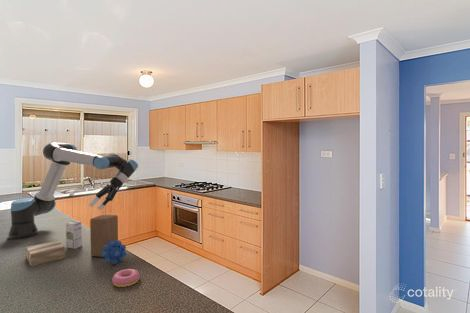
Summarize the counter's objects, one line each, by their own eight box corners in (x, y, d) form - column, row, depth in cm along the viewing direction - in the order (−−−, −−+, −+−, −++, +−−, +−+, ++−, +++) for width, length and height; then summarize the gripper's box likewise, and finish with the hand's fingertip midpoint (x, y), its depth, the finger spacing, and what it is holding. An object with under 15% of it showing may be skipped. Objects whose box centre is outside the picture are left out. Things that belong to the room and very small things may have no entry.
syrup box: (82, 245, 155) (82, 220, 155) (73, 249, 150) (72, 223, 149) (75, 244, 157) (74, 220, 157) (66, 248, 152) (65, 222, 151)
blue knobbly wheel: (105, 270, 123) (104, 245, 123) (100, 266, 128) (99, 241, 128) (130, 263, 132) (129, 239, 131) (124, 259, 136) (124, 235, 136)
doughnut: (111, 291, 106) (111, 281, 106) (112, 278, 116) (112, 269, 116) (140, 285, 110) (140, 275, 110) (138, 274, 121) (138, 265, 120)
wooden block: (106, 258, 138) (106, 219, 137) (90, 256, 140) (89, 218, 139) (119, 250, 147) (118, 214, 147) (103, 249, 149) (102, 214, 149)
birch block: (26, 258, 138) (26, 247, 138) (58, 250, 148) (57, 240, 148) (31, 266, 128) (30, 254, 128) (64, 258, 138) (64, 246, 138)
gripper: (132, 185, 164) (107, 214, 154) (114, 182, 181) (91, 208, 171) (123, 177, 160) (97, 206, 150) (106, 175, 177) (82, 201, 167)
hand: (94, 207), depth 160 cm, fingers open, 13 cm apart
